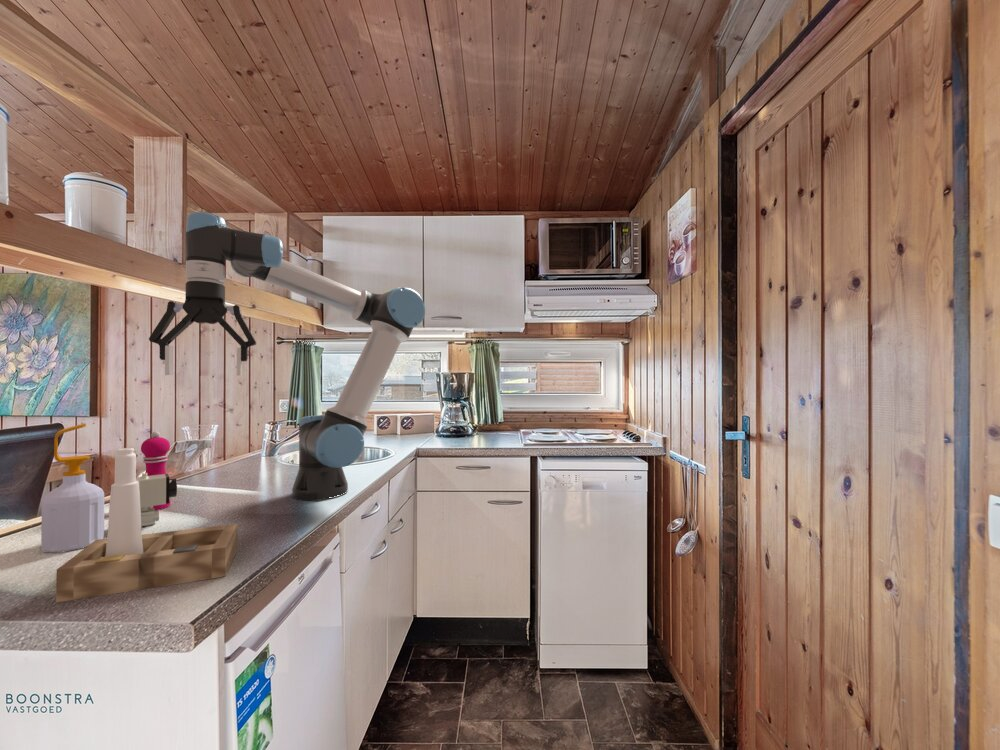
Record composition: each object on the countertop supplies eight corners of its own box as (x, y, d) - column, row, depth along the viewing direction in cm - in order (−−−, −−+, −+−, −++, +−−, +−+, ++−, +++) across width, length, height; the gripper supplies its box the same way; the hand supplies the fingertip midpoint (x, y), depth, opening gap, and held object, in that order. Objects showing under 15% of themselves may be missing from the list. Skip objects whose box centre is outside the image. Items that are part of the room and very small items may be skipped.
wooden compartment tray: (237, 548, 86) (237, 522, 86) (225, 576, 74) (225, 545, 74) (95, 567, 77) (95, 538, 77) (56, 602, 66) (56, 567, 66)
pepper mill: (135, 507, 113) (136, 431, 113) (170, 501, 118) (170, 428, 118) (139, 513, 108) (139, 433, 108) (174, 507, 113) (175, 431, 113)
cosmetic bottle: (155, 569, 77) (157, 446, 77) (126, 585, 71) (128, 451, 71) (121, 568, 77) (123, 445, 77) (90, 585, 71) (91, 451, 71)
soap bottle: (104, 544, 88) (105, 424, 88) (39, 557, 82) (40, 428, 82) (103, 533, 94) (104, 421, 95) (42, 544, 88) (43, 424, 88)
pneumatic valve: (176, 522, 102) (177, 471, 102) (109, 533, 94) (110, 479, 94) (174, 516, 106) (175, 467, 106) (110, 527, 98) (111, 474, 98)
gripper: (131, 274, 91) (130, 374, 90) (265, 284, 100) (265, 375, 100) (144, 281, 97) (143, 375, 97) (268, 290, 107) (268, 375, 107)
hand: (205, 375), depth 99 cm, fingers open, 13 cm apart
